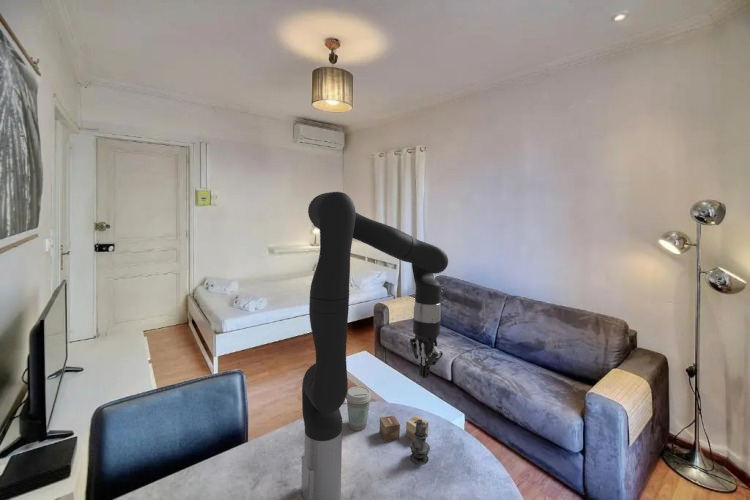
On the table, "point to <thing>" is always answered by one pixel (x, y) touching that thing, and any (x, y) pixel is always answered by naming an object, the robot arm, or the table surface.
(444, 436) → the table surface
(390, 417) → the walnut block digit
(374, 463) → the table surface
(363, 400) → the coffee cup
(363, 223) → the robot arm
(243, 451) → the table surface
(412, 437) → the beech block digit
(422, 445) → the black chess piece
